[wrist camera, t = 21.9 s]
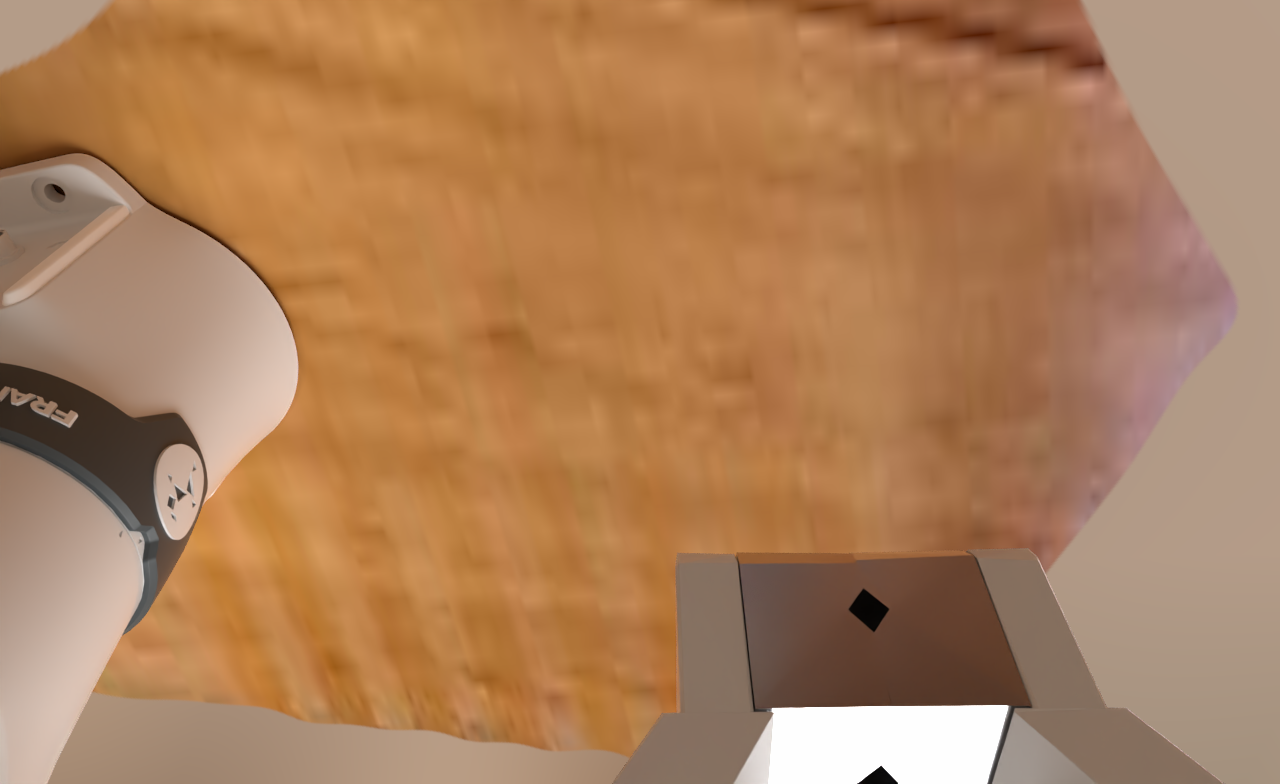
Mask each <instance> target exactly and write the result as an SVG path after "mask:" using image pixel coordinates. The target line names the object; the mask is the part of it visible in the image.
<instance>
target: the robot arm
mask: <svg viewBox="0 0 1280 784" xmlns="http://www.w3.org/2000/svg"><path fill="white" fill-rule="evenodd" d="M52 184H56V185H58V186H59V187H61V188H62V189H63V191H64V192H65V196H64V195H61V194H59V193H58V192H56V190H55V189H54V188H53V185H52ZM297 380H298V357H297V350H296V346H295V341H294V338H293V335H292V332H291V329H290V327H289V324H288V322H287V320H286V317H285V315H284V313H283V311H282V310H281V308H280V306H279V304H278V303H277V301H276V300H275V298H274V297H273V295H272V294H271V292H270V291H269V290H268V288H267V287H266V286H265V284H264V283H263V282H262V281H261V280H260V279H259V278H258V276H257V275H256V274H255V273H254V272H253V271H252V270H251V269H250V268H249V267H248V266H247V265H246V264H245V263H244V262H243V261H241V260H240V259H239V258H238V257H237V256H236V255H234V254H233V253H232V252H231V251H229V250H228V249H227V248H225V247H224V246H223V245H221V244H220V243H218V242H217V241H216V240H214V239H212V238H211V237H209V236H208V235H206V234H204V233H203V232H201V231H199V230H197V229H196V228H194V227H192V226H190V225H188V224H186V223H184V222H182V221H180V220H178V219H176V218H173V217H171V216H169V215H167V214H166V213H164V212H162V211H160V210H159V209H157V208H155V207H154V206H152V205H151V204H149V203H148V202H146V201H145V200H144V199H143V198H142V197H141V196H140V195H139V194H138V193H137V192H136V191H135V190H134V189H133V188H132V187H131V186H130V185H129V184H128V183H127V182H126V181H125V180H124V179H123V178H121V177H120V176H119V175H118V174H117V173H116V172H115V171H114V170H112V169H111V168H110V167H108V166H107V165H106V164H104V163H103V162H101V161H100V160H98V159H96V158H94V157H92V156H90V155H86V154H81V153H73V154H67V155H63V156H58V157H54V158H50V159H45V160H41V161H37V162H32V163H28V164H24V165H19V166H15V167H11V168H6V169H2V170H0V784H47V783H48V781H49V778H50V776H51V773H52V771H53V769H54V766H55V764H56V762H57V759H58V758H59V756H60V754H61V752H62V750H63V747H64V746H65V744H66V742H67V740H68V738H69V736H70V734H71V732H72V730H73V728H74V726H75V724H76V722H77V720H78V718H79V716H80V714H81V712H82V710H83V708H84V706H85V704H86V702H87V700H88V699H89V697H90V695H91V693H92V691H93V689H94V687H95V685H96V683H97V681H98V679H99V677H100V675H101V674H102V672H103V670H104V668H105V666H106V664H107V662H108V660H109V658H110V657H111V655H112V653H113V651H114V649H115V647H116V645H117V643H118V642H119V640H120V638H121V636H122V635H124V634H125V633H127V632H128V631H130V630H131V629H132V628H133V627H135V626H136V625H137V624H138V623H139V622H140V621H141V620H142V618H143V617H144V616H145V615H146V613H147V612H148V610H149V609H150V607H151V606H152V604H153V602H154V601H155V599H156V597H157V596H158V594H159V592H160V591H161V589H162V587H163V586H164V584H165V582H166V581H167V579H168V577H169V575H170V574H171V572H172V570H173V568H174V567H175V565H176V563H177V561H178V559H179V558H180V556H181V554H182V552H183V550H184V548H185V546H186V544H187V542H188V540H189V537H190V535H191V533H192V531H193V528H194V526H195V524H196V521H197V519H198V516H199V513H200V511H201V508H202V506H203V504H204V503H205V502H206V501H207V499H209V498H210V497H211V496H212V495H213V494H214V492H215V491H216V490H217V488H218V487H219V486H220V485H221V483H222V482H223V480H224V479H225V477H226V476H227V475H228V474H229V473H230V472H231V470H232V469H233V468H234V467H235V466H236V465H237V464H238V463H239V462H240V461H241V459H242V458H243V457H244V456H245V455H246V454H247V453H248V452H249V451H250V450H251V449H253V448H254V447H255V446H256V445H257V444H258V443H259V442H260V441H261V440H262V439H264V438H265V437H266V436H267V435H268V434H269V433H270V432H272V431H273V430H274V429H275V427H276V426H277V425H278V424H279V423H280V422H281V420H282V419H283V418H284V416H285V415H286V413H287V411H288V409H289V407H290V405H291V403H292V401H293V398H294V395H295V391H296V387H297ZM676 698H677V713H662V714H661V715H660V717H659V718H658V720H657V721H656V722H655V724H654V725H653V727H652V728H651V729H650V731H649V732H648V734H647V735H646V736H645V738H644V739H643V741H642V742H641V743H640V745H639V746H638V748H637V749H636V750H635V752H634V753H633V755H632V756H631V757H630V759H629V760H628V762H627V763H626V764H625V766H624V767H623V769H622V770H621V771H620V773H619V774H618V776H617V777H616V779H615V780H614V781H613V783H612V784H1224V783H1223V782H1222V781H1221V780H1219V779H1218V778H1217V777H1215V776H1214V775H1213V774H1211V773H1210V772H1209V771H1208V770H1206V769H1205V768H1204V767H1202V766H1201V765H1200V764H1199V763H1197V762H1196V761H1195V760H1193V759H1192V758H1190V756H1188V755H1187V754H1186V753H1184V752H1183V751H1182V750H1180V749H1179V748H1178V747H1177V746H1175V745H1174V744H1173V743H1171V742H1170V741H1169V740H1168V739H1166V738H1165V737H1164V736H1162V735H1161V734H1160V733H1159V732H1157V731H1156V730H1154V729H1153V728H1152V727H1151V726H1149V725H1148V724H1147V723H1146V722H1144V721H1143V720H1142V719H1140V718H1139V717H1138V716H1137V715H1135V714H1134V713H1133V712H1131V711H1130V710H1129V709H1127V708H1108V707H1107V706H1106V704H1105V702H1104V700H1103V697H1102V695H1101V693H1100V691H1099V689H1098V687H1097V684H1096V682H1095V680H1094V678H1093V676H1092V674H1091V671H1090V669H1089V667H1088V665H1087V663H1086V661H1085V659H1084V656H1083V654H1082V652H1081V650H1080V648H1079V646H1078V643H1077V641H1076V639H1075V637H1074V635H1073V633H1072V630H1071V628H1070V626H1069V624H1068V622H1067V620H1066V617H1065V615H1064V613H1063V611H1062V609H1061V607H1060V604H1059V602H1058V600H1057V598H1056V596H1055V594H1054V592H1053V589H1052V587H1051V585H1050V583H1049V581H1048V579H1047V576H1046V574H1045V572H1044V570H1043V568H1042V566H1041V563H1040V561H1039V559H1038V557H1037V556H1036V555H1035V554H1034V553H1032V552H1031V551H1030V550H1029V549H1028V548H1018V549H980V550H967V551H966V552H965V551H963V550H947V551H906V552H864V553H849V554H836V553H736V557H735V555H734V554H700V553H677V558H676Z"/></svg>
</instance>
